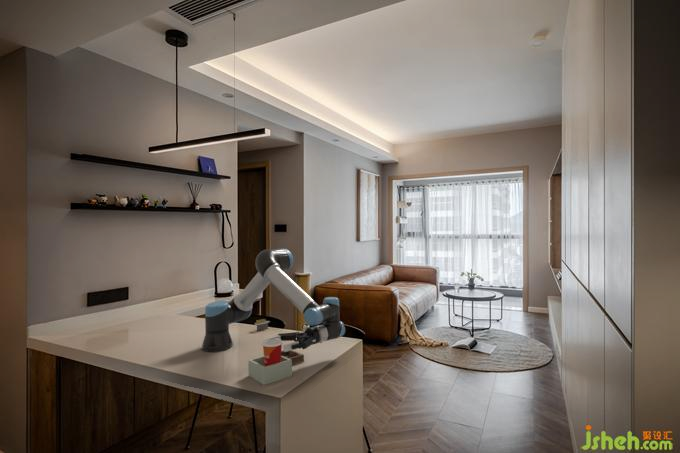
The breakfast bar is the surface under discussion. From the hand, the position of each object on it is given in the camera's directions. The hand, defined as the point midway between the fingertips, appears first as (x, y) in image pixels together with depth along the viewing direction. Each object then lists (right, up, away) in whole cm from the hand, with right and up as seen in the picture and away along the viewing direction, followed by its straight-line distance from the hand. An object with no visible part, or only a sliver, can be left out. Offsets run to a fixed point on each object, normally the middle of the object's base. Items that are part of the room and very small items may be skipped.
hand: (275, 345), depth 152 cm
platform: (-21, -15, +73) cm, 78 cm away
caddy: (-2, -12, -2) cm, 12 cm away
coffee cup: (0, -12, -3) cm, 13 cm away
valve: (+11, -13, +52) cm, 54 cm away
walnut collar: (+2, -12, +15) cm, 20 cm away
